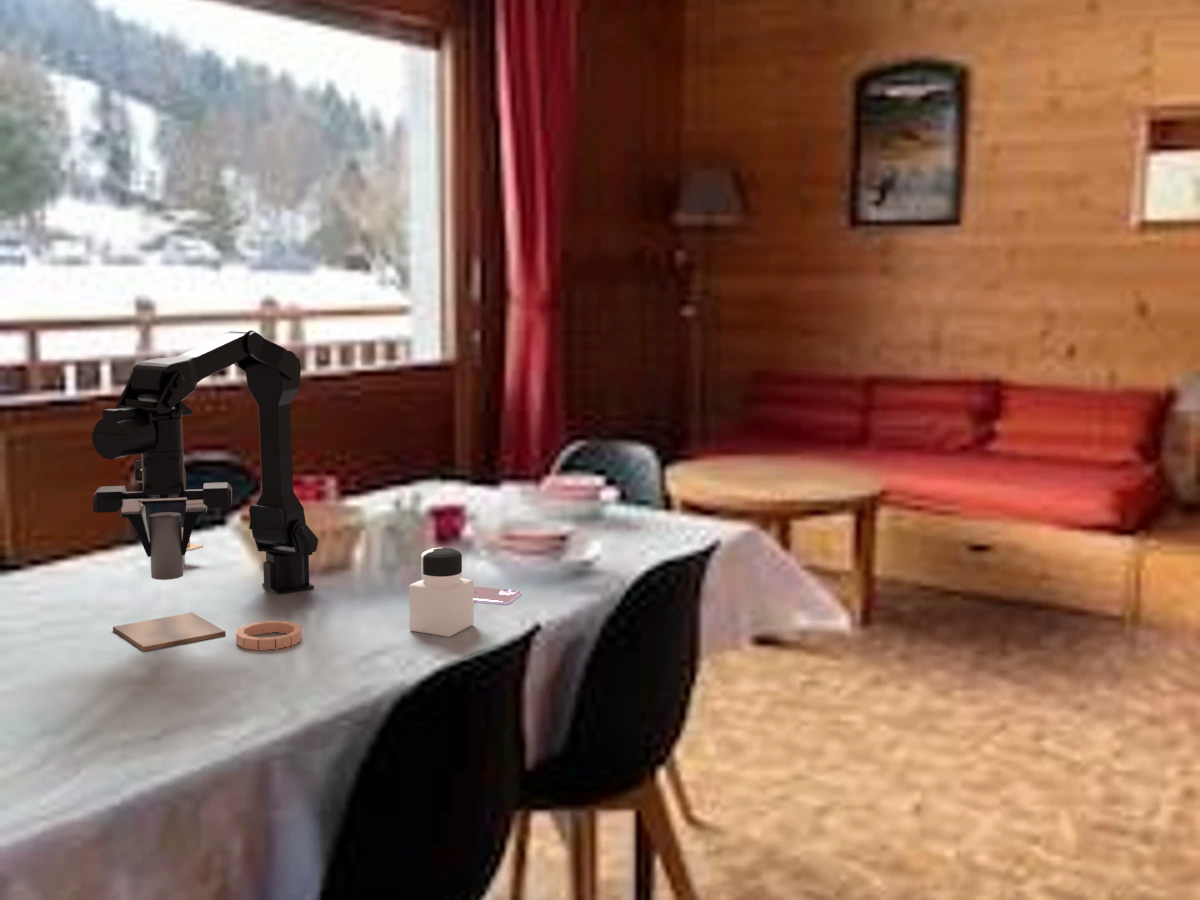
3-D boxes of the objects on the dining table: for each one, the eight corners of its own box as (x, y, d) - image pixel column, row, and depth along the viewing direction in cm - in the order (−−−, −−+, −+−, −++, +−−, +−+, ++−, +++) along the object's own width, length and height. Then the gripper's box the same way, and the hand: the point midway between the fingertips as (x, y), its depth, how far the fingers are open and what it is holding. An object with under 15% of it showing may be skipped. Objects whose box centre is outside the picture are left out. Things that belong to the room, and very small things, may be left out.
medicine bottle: (474, 625, 193) (474, 547, 191) (449, 637, 187) (449, 558, 185) (434, 618, 196) (433, 542, 194) (408, 631, 190) (407, 552, 188)
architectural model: (174, 561, 230) (173, 520, 229) (203, 566, 227) (202, 525, 226) (160, 565, 227) (158, 524, 226) (189, 570, 224) (187, 528, 223)
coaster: (192, 616, 195) (192, 612, 195) (225, 635, 186) (225, 631, 186) (113, 630, 187) (113, 626, 187) (143, 651, 178) (143, 646, 178)
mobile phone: (439, 581, 215) (523, 589, 211) (439, 587, 215) (523, 595, 211) (421, 593, 208) (507, 601, 204) (421, 599, 208) (507, 607, 204)
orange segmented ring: (283, 627, 190) (283, 617, 190) (312, 641, 184) (312, 631, 183) (226, 638, 185) (226, 628, 184) (254, 654, 178) (253, 643, 178)
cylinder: (176, 570, 188) (173, 510, 187) (188, 576, 185) (185, 515, 184) (146, 575, 186) (144, 514, 184) (158, 581, 182) (155, 519, 181)
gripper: (230, 439, 192) (234, 539, 195) (98, 442, 188) (103, 545, 190) (229, 450, 182) (233, 557, 184) (90, 454, 177) (95, 564, 179)
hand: (166, 555), depth 185 cm, fingers closed on cylinder, 4 cm apart
